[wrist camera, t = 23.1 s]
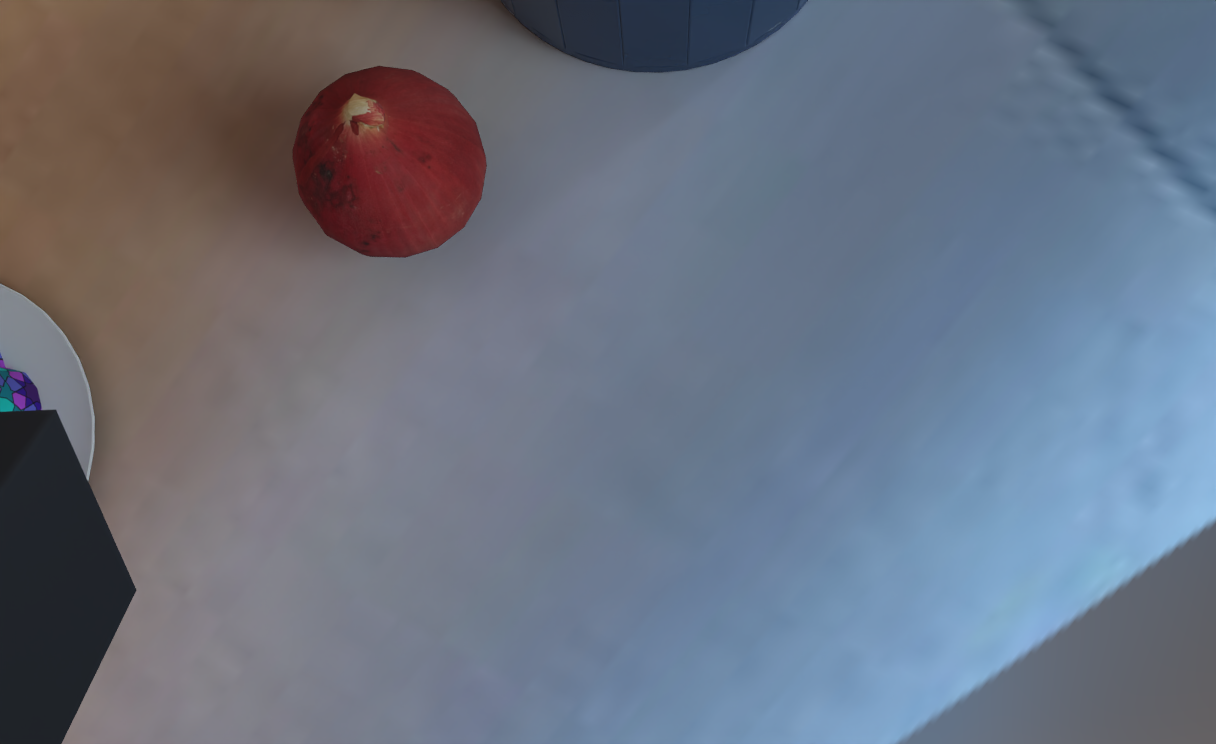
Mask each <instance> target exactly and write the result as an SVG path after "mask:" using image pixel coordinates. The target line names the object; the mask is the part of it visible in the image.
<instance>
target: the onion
mask: <svg viewBox="0 0 1216 744" xmlns="http://www.w3.org/2000/svg"><path fill="white" fill-rule="evenodd" d="M293 163H294V168H295V174H296V180H297V185H298V191H299V195H300V197H301V199H302V201H303V203H304V205H305V206H306V207H307V209H308V210H309V212H310V213H311V214H312V216H313V217H314V218H315V220H316V221H317V223H318V224H319V225H320V227H321V228H322V230H323V231H324V232H325V234H326V235H327V236H329V237H331V238H333V239H335V240H336V241H338V242H340V243H342V244H344V245H346V246H348V247H349V248H351V249H353V250H355V251H357V252H359V253H361V254H363V255H366V256H370V257H408V256H412V255H415V254H418V253H422V252H425V251H428V250H431V249H435V248H438V247H439V246H440V245H442V244H443V243H444V242H446V241H447V240H448V239H449V238H451V237H452V236H453V235H455V234H456V233H457V232H459V231H460V230H461V229H462V228H464V227H465V225H466V223H467V221H468V220H469V218H470V216H471V215H472V213H473V211H474V210H475V208H476V206H477V205H478V203H479V201H480V199H481V196H482V190H483V184H484V178H485V173H486V167H487V165H486V157H485V153H484V149H483V146H482V142H481V139H480V135H479V132H478V129H477V125H476V122H475V121H474V120H473V118H472V117H471V116H470V115H469V113H468V112H467V111H466V110H465V108H464V107H463V106H462V105H461V103H460V102H459V101H458V100H457V98H456V97H455V96H454V95H453V94H452V93H451V92H450V91H449V90H448V89H446V88H445V87H443V86H441V85H439V84H438V83H436V82H434V81H432V80H431V79H429V78H427V77H425V76H424V75H422V74H420V73H418V72H415V71H413V70H407V69H399V68H391V67H383V66H377V67H372V68H368V69H364V70H360V71H356V72H352V73H348V74H345V75H344V76H342V77H341V78H339V79H338V80H336V81H335V82H333V83H332V84H330V85H329V86H328V87H326V88H325V89H323V90H322V91H320V93H319V94H318V95H317V97H316V98H315V100H314V101H313V102H312V104H311V105H310V107H309V108H308V109H307V111H306V112H305V114H304V115H303V116H302V118H301V121H300V125H299V128H298V132H297V136H296V139H295V143H294V147H293Z"/></svg>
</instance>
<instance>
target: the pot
mask: <svg viewBox="0 0 1216 744" xmlns="http://www.w3.org/2000/svg"><path fill="white" fill-rule="evenodd" d="M501 1H502V3H503V4H504V5H505V7H506V8H507V9H508V10H509V11H510V12H511V13H512V14H513V15H514V16H515V17H516V18H517V19H518V20H519V21H520V22H521V23H522V24H523V25H524V26H525V27H526V28H528V29H529V30H530V31H532V32H533V33H534V34H535V35H537V36H538V37H539V38H541V39H542V40H544V41H545V42H547V43H549V44H551V45H552V46H554V47H556V48H557V49H559V50H561V51H563V52H565V53H567V54H570V55H572V56H574V57H577V58H579V59H581V60H584V61H586V62H590V63H593V64H597V65H601V66H604V67H608V68H613V69H619V70H626V71H633V72H669V71H679V70H687V69H692V68H696V67H701V66H705V65H709V64H713V63H715V62H718V61H721V60H724V59H727V58H729V57H732V56H735V55H737V54H739V53H741V52H743V51H745V50H747V49H749V48H751V47H753V46H755V45H756V44H758V43H760V42H761V41H763V40H764V39H766V38H767V37H769V36H770V35H771V34H773V33H774V32H776V31H777V30H779V29H780V28H781V27H782V26H783V25H784V24H785V23H787V22H788V21H789V20H790V19H791V18H792V17H793V16H794V15H796V14H797V13H798V12H799V10H800V9H801V8H802V7H803V6H804V5H805V3H806V2H807V1H808V0H501Z"/></svg>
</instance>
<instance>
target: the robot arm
mask: <svg viewBox="0 0 1216 744" xmlns="http://www.w3.org/2000/svg"><path fill="white" fill-rule="evenodd" d="M135 592H136V588H135V586H134V584H133V581H132V579H131V577H130V575H129V572H128V570H127V568H126V566H125V563H124V561H123V559H122V557H121V554H120V552H119V550H118V548H117V546H116V543H115V541H114V539H113V537H112V534H111V532H110V530H109V528H108V525H107V523H106V521H105V519H104V516H103V514H102V512H101V510H100V507H99V505H98V503H97V501H96V498H95V496H94V494H93V492H92V489H91V487H90V485H89V483H88V480H87V478H86V476H85V474H84V471H83V469H82V467H81V465H80V462H79V460H78V458H77V456H76V453H75V451H74V449H73V447H72V444H71V442H70V440H69V438H68V435H67V433H66V431H65V429H64V426H63V424H62V422H61V420H60V417H59V415H58V413H57V411H56V410H31V411H7V412H0V744H61V743H62V741H63V739H64V737H65V735H66V733H67V731H68V729H69V727H70V725H71V723H72V721H73V719H74V717H75V715H76V713H77V711H78V708H79V706H80V704H81V702H82V700H83V698H84V696H85V694H86V692H87V690H88V688H89V686H90V684H91V682H92V680H93V678H94V676H95V674H96V672H97V670H98V668H99V666H100V663H101V661H102V659H103V657H104V655H105V653H106V651H107V649H108V647H109V645H110V643H111V641H112V639H113V637H114V635H115V633H116V631H117V629H118V627H119V625H120V623H121V621H122V618H123V616H124V614H125V612H126V610H127V608H128V606H129V604H130V602H131V600H132V598H133V596H134V594H135Z"/></svg>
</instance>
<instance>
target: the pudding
mask: <svg viewBox="0 0 1216 744" xmlns="http://www.w3.org/2000/svg"><path fill="white" fill-rule="evenodd" d="M31 410H56V411H57V413H58V415H59V417H60V420H61V422H62V424H63V426H64V429H65V431H66V433H67V435H68V438H69V440H70V442H71V444H72V447H73V449H74V451H75V453H76V456H77V458H78V460H79V462H80V465H81V467H82V469H83V471H84V474H85V476H86V478H87V480H89V475H90V470H91V464H92V459H93V453H94V428H95V417H94V411H93V405H92V399H91V393H90V387H89V384H88V381H87V379H86V376H85V373H84V370H83V367H82V365H81V362H80V359H79V357H78V356H77V354H76V352H75V351H74V349H73V347H72V346H71V344H70V342H69V340H68V339H67V337H66V335H65V334H64V333H63V331H62V330H61V329H60V328H59V327H58V326H57V325H56V324H55V322H54V321H53V320H52V319H51V318H50V317H49V316H48V315H47V313H46V312H45V311H43V310H42V309H41V308H39V307H38V306H37V305H35V304H34V303H33V302H31V301H30V300H29V299H28V298H26V297H25V296H24V295H22V294H20V293H18V292H16V291H14V290H12V289H10V288H8V287H6V286H4V285H2V284H0V412H7V411H31Z"/></svg>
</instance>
